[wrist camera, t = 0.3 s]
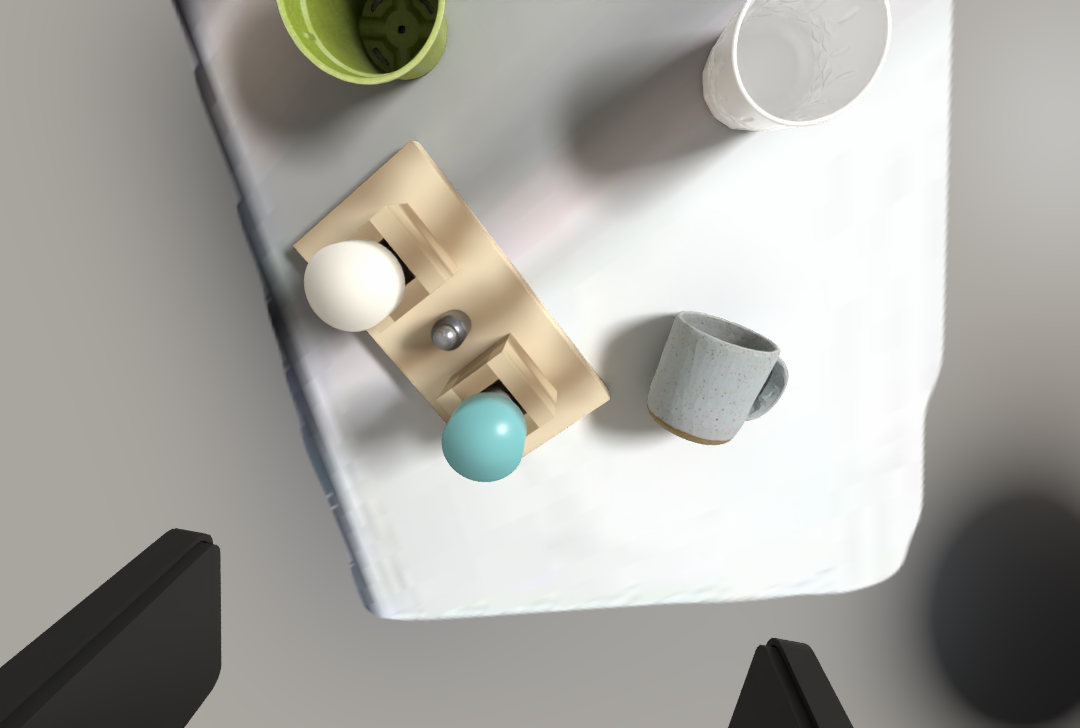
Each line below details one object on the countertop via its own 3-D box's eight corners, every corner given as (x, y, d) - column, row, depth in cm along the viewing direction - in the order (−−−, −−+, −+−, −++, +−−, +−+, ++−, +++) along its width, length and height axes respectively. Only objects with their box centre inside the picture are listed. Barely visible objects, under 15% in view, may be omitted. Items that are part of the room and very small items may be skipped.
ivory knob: (340, 261, 38) (285, 279, 31) (392, 216, 37) (349, 224, 30) (388, 317, 39) (346, 348, 32) (441, 275, 38) (410, 297, 31)
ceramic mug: (635, 396, 45) (649, 438, 38) (668, 302, 43) (690, 328, 35) (757, 428, 46) (793, 475, 39) (797, 337, 43) (844, 369, 36)
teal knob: (451, 392, 40) (425, 437, 33) (504, 354, 39) (488, 392, 32) (493, 442, 42) (476, 495, 34) (546, 406, 40) (540, 454, 33)
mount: (305, 243, 43) (256, 254, 36) (418, 142, 40) (387, 134, 33) (496, 465, 48) (483, 510, 41) (608, 390, 45) (614, 425, 39)
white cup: (710, 157, 39) (752, 149, 30) (678, 41, 37) (714, -8, 28) (822, 113, 38) (904, 91, 28) (796, -10, 36) (876, -78, 26)
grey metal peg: (434, 321, 42) (420, 335, 38) (457, 303, 42) (446, 315, 38) (454, 345, 43) (442, 361, 39) (477, 327, 42) (468, 342, 38)
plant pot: (397, -86, 36) (344, -166, 28) (500, 29, 38) (479, -14, 29) (311, 31, 38) (239, -11, 30) (412, 134, 40) (369, 121, 32)
